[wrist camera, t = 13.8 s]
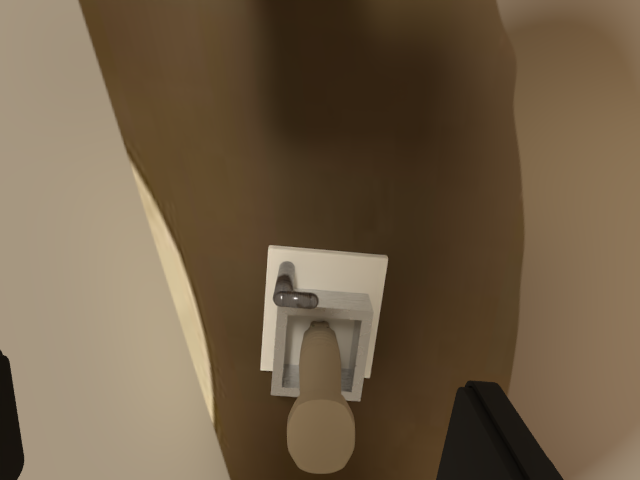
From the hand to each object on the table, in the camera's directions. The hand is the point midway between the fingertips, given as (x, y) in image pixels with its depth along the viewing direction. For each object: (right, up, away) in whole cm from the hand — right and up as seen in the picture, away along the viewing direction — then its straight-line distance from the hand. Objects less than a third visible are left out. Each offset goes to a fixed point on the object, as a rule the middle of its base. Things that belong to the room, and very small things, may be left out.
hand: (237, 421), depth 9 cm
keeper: (+2, -4, +36) cm, 36 cm away
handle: (+2, -6, +35) cm, 36 cm away
